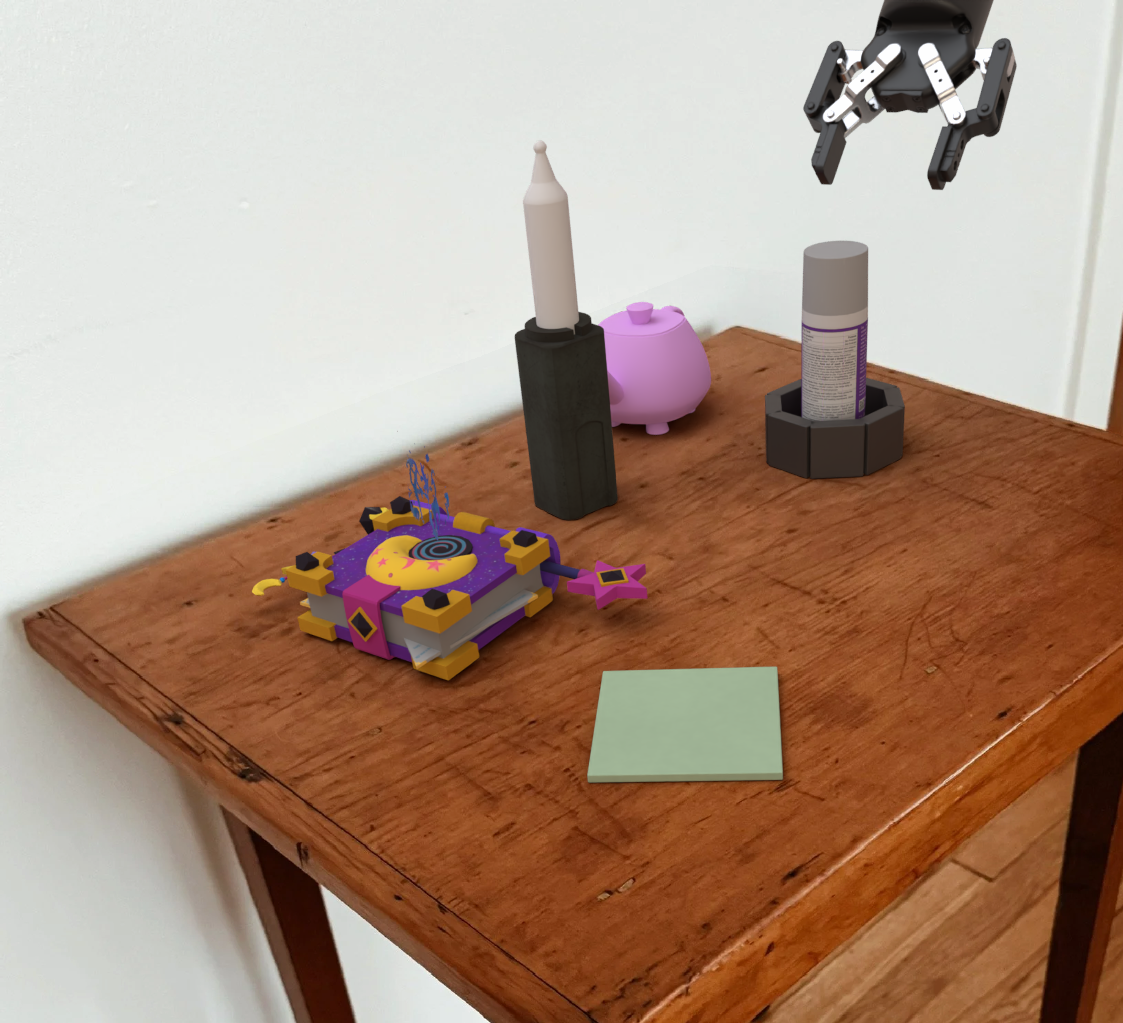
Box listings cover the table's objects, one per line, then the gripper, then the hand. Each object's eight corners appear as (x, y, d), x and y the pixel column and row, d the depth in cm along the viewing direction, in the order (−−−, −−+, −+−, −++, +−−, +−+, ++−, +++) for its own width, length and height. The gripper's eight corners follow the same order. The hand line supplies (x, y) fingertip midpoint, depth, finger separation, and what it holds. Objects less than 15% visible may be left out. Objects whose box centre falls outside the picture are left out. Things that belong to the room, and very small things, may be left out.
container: (828, 433, 102) (831, 236, 93) (876, 447, 99) (884, 245, 90) (788, 452, 99) (787, 252, 91) (836, 468, 96) (840, 262, 88)
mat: (777, 673, 74) (777, 666, 74) (782, 780, 66) (782, 772, 66) (603, 677, 76) (602, 670, 76) (587, 783, 68) (587, 775, 67)
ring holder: (893, 421, 102) (895, 372, 100) (907, 474, 94) (909, 422, 92) (764, 428, 104) (764, 379, 102) (767, 481, 96) (766, 429, 93)
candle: (568, 523, 93) (529, 152, 79) (528, 502, 97) (483, 144, 83) (624, 500, 95) (595, 136, 82) (583, 480, 99) (548, 128, 85)
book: (383, 532, 95) (351, 370, 88) (672, 609, 82) (661, 425, 75) (233, 623, 86) (185, 450, 79) (531, 727, 72) (504, 529, 66)
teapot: (739, 395, 110) (736, 284, 105) (651, 464, 100) (643, 345, 95) (633, 382, 115) (625, 275, 110) (540, 446, 105) (526, 333, 100)
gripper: (840, -54, 95) (770, 148, 94) (1036, -66, 88) (963, 153, 87) (867, 15, 102) (802, 205, 100) (1053, 10, 94) (985, 215, 93)
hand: (877, 181), depth 94 cm, fingers open, 8 cm apart
